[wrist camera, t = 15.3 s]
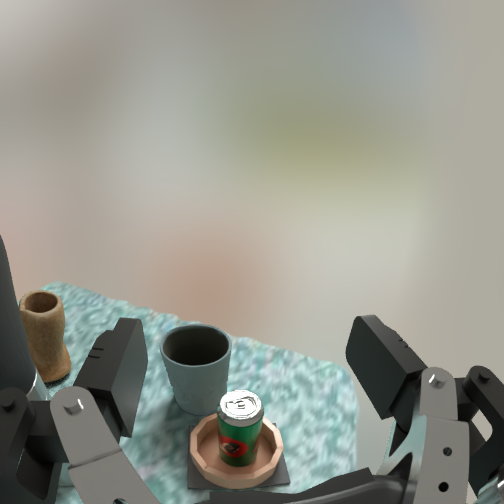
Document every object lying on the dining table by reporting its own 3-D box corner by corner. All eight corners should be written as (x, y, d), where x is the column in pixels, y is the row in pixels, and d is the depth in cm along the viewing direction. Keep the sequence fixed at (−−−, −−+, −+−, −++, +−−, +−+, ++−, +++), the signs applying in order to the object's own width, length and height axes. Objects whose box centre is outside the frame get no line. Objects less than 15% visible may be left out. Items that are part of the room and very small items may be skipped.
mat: (188, 488, 24) (187, 487, 24) (189, 426, 34) (189, 425, 34) (289, 483, 26) (290, 482, 25) (275, 424, 36) (275, 423, 36)
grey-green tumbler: (241, 391, 42) (244, 337, 39) (207, 430, 34) (203, 377, 30) (193, 369, 47) (189, 316, 43) (157, 400, 38) (144, 345, 34)
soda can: (261, 464, 28) (271, 416, 24) (223, 471, 26) (221, 425, 22) (251, 437, 32) (256, 384, 28) (215, 442, 31) (212, 390, 27)
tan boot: (86, 375, 40) (64, 306, 35) (34, 391, 32) (2, 323, 27) (70, 334, 50) (54, 274, 45) (27, 347, 42) (6, 286, 37)
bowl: (193, 489, 23) (190, 479, 22) (193, 424, 34) (191, 409, 33) (285, 484, 25) (290, 474, 24) (270, 422, 36) (273, 407, 35)
